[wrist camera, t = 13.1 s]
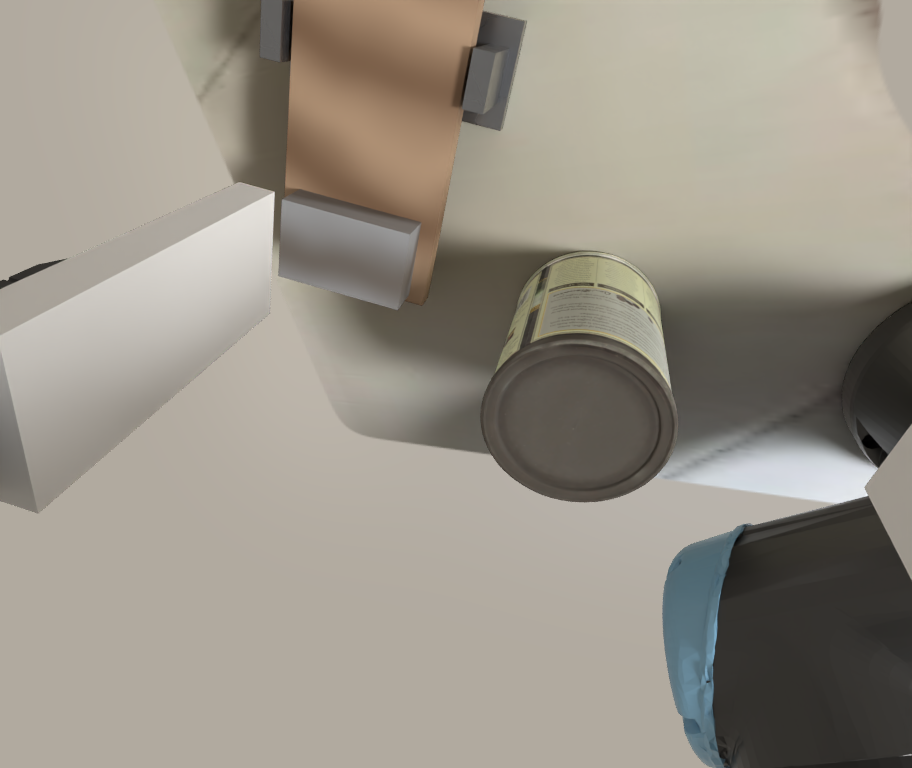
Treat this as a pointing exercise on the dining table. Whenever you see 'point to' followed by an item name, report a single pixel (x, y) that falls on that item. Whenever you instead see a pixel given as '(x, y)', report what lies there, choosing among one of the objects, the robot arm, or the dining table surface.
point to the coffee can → (583, 383)
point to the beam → (372, 142)
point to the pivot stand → (486, 71)
